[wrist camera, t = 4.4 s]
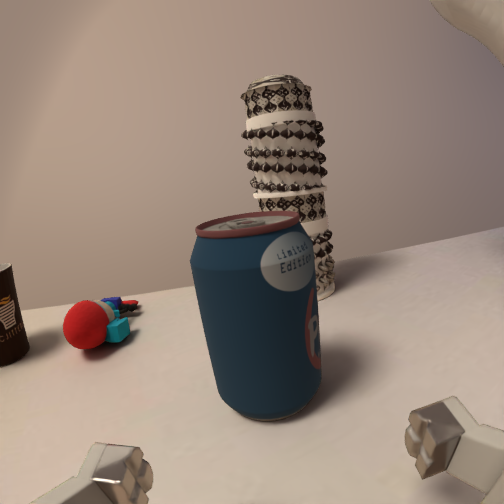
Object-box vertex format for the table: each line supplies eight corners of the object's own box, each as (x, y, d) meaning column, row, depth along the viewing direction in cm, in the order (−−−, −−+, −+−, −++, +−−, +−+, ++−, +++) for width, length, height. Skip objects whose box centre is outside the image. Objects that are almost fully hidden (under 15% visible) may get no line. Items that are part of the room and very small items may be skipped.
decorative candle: (328, 308, 32) (299, 62, 26) (249, 302, 37) (218, 83, 31) (345, 277, 40) (324, 81, 34) (280, 276, 44) (256, 95, 38)
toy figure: (96, 321, 40) (48, 359, 25) (91, 286, 39) (37, 310, 25) (147, 319, 41) (115, 360, 26) (142, 283, 40) (106, 308, 25)
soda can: (340, 403, 18) (335, 214, 15) (238, 442, 16) (194, 241, 13) (294, 356, 25) (279, 206, 22) (211, 381, 23) (178, 224, 20)
